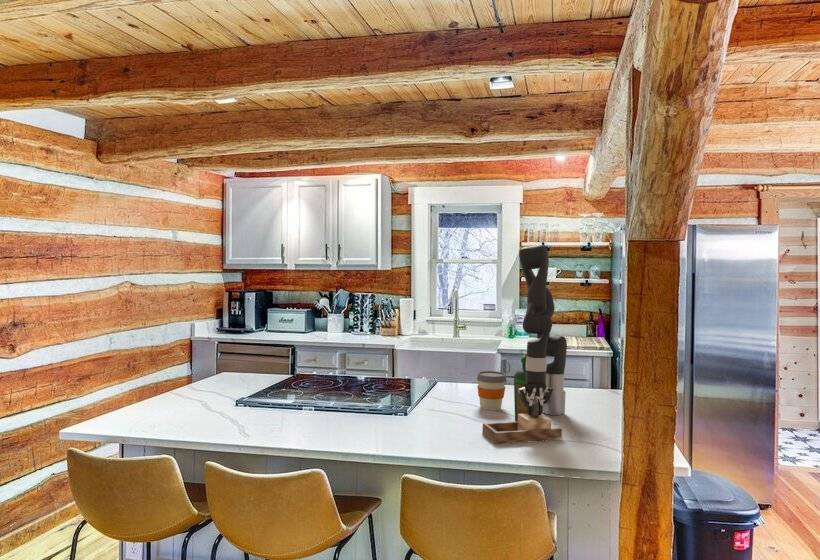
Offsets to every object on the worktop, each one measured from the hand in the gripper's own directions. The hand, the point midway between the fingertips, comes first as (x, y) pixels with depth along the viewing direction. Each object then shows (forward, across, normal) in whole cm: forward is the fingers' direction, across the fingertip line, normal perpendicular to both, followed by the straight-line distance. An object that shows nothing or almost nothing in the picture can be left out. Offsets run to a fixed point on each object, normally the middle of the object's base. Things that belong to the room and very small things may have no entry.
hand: (534, 414), depth 221 cm
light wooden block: (+7, 0, 0) cm, 7 cm away
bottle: (+8, -5, -17) cm, 20 cm away
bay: (+8, +5, 0) cm, 9 cm away
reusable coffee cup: (+8, 0, -41) cm, 42 cm away
